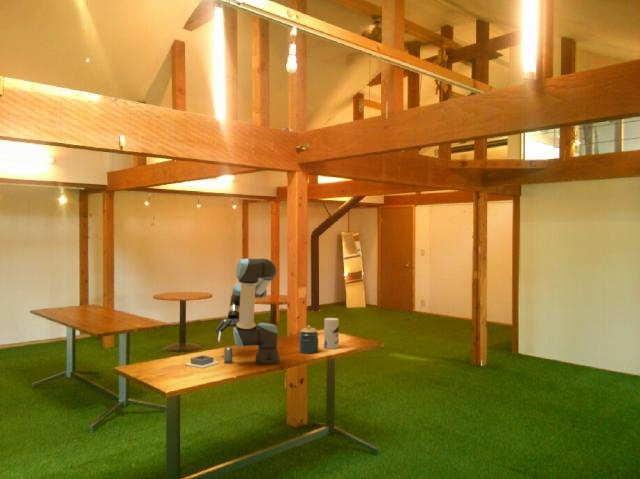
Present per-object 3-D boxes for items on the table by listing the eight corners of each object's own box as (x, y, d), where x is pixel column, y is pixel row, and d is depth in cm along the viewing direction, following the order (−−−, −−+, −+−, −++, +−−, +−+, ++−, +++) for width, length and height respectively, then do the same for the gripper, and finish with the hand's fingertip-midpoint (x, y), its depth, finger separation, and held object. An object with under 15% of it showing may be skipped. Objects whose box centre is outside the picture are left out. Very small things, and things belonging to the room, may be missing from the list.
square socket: (218, 363, 289) (219, 356, 289) (202, 368, 276) (202, 361, 276) (201, 360, 296) (201, 354, 296) (184, 365, 283) (185, 358, 283)
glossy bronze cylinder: (234, 362, 291) (234, 347, 291) (228, 364, 287) (229, 349, 287) (228, 361, 294) (228, 346, 294) (222, 363, 289) (222, 348, 289)
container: (337, 349, 328) (337, 320, 328) (322, 348, 330) (323, 319, 330) (339, 346, 337) (339, 317, 337) (325, 345, 339) (325, 317, 339)
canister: (315, 348, 329) (315, 323, 329) (321, 353, 316) (321, 326, 316) (296, 350, 324) (297, 324, 324) (302, 354, 312) (302, 327, 312)
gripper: (253, 317, 315) (250, 344, 300) (216, 316, 315) (210, 344, 300) (252, 310, 310) (249, 338, 295) (214, 309, 310) (208, 337, 295)
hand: (229, 341), depth 297 cm, fingers open, 13 cm apart
